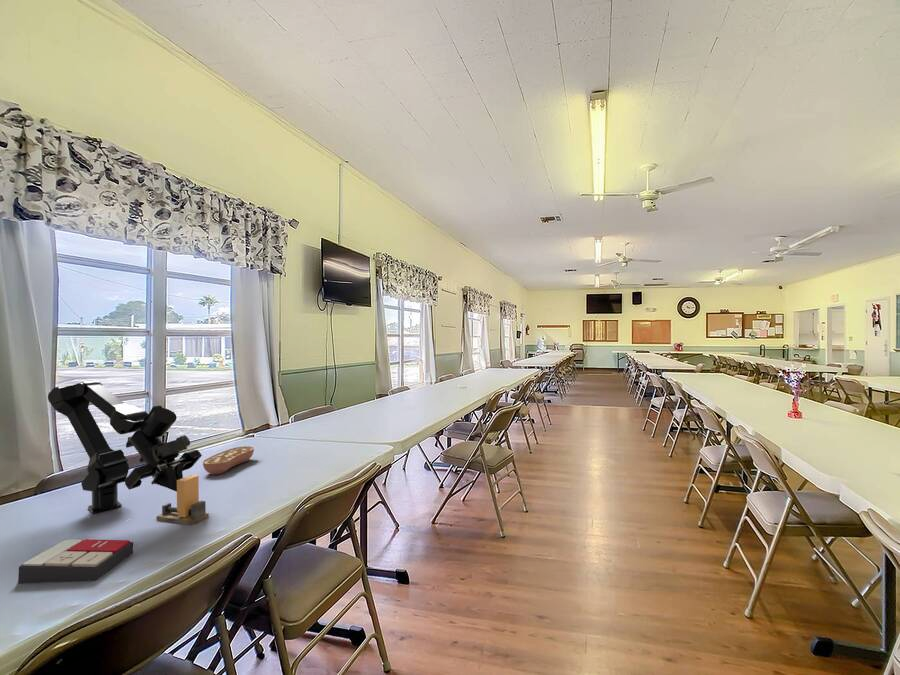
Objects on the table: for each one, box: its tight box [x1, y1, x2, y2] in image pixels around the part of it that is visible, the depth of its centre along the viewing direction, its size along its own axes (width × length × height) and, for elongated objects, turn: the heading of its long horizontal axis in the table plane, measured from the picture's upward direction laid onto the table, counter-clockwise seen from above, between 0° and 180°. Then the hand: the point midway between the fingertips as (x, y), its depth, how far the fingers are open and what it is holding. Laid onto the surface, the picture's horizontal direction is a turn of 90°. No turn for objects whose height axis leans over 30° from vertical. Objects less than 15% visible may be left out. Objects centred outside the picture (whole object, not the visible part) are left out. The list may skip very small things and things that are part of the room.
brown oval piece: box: [202, 446, 255, 475], centre depth 157 cm, size 23×10×5 cm, turn 173°
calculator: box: [17, 538, 134, 585], centre depth 89 cm, size 11×4×15 cm
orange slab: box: [176, 474, 200, 517], centre depth 112 cm, size 2×4×10 cm, turn 164°
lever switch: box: [156, 500, 210, 526], centre depth 113 cm, size 12×5×5 cm, turn 74°
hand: (183, 492), depth 113 cm, fingers closed, pressing on orange slab
